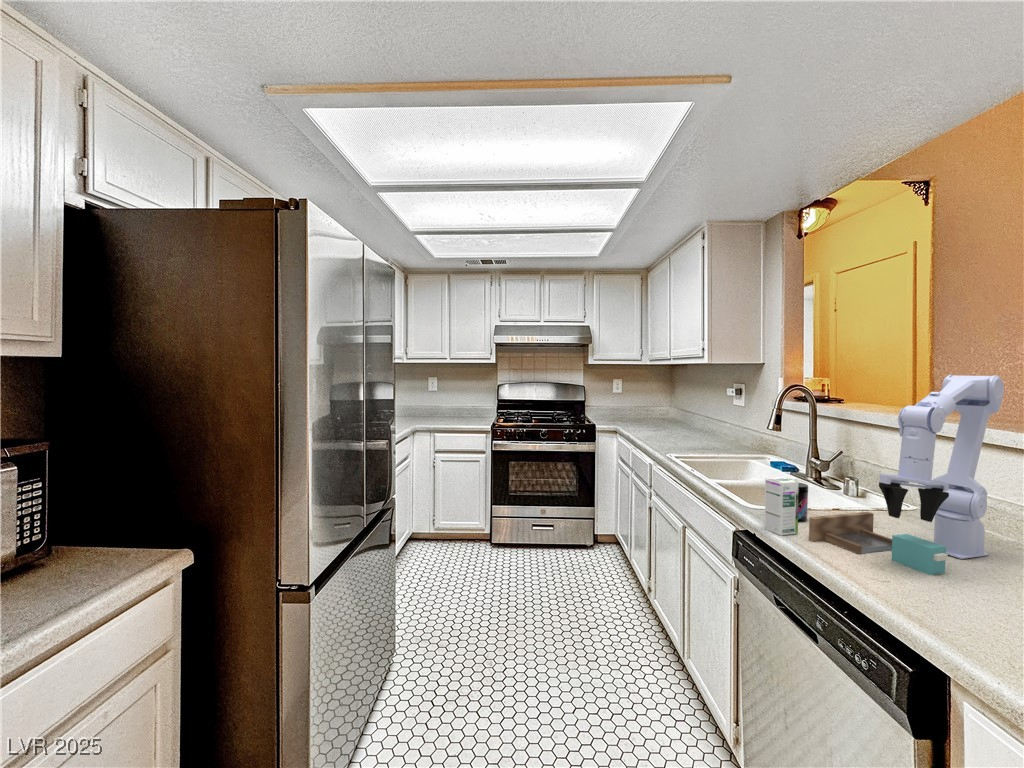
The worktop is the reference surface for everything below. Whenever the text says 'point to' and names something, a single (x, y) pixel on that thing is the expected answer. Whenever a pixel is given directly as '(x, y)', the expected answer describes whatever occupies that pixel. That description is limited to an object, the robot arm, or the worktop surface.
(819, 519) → the wooden tray
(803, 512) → the supplement container
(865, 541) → the grey flat plate
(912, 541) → the cabinet block
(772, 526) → the syrup box
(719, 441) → the worktop surface
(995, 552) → the worktop surface
